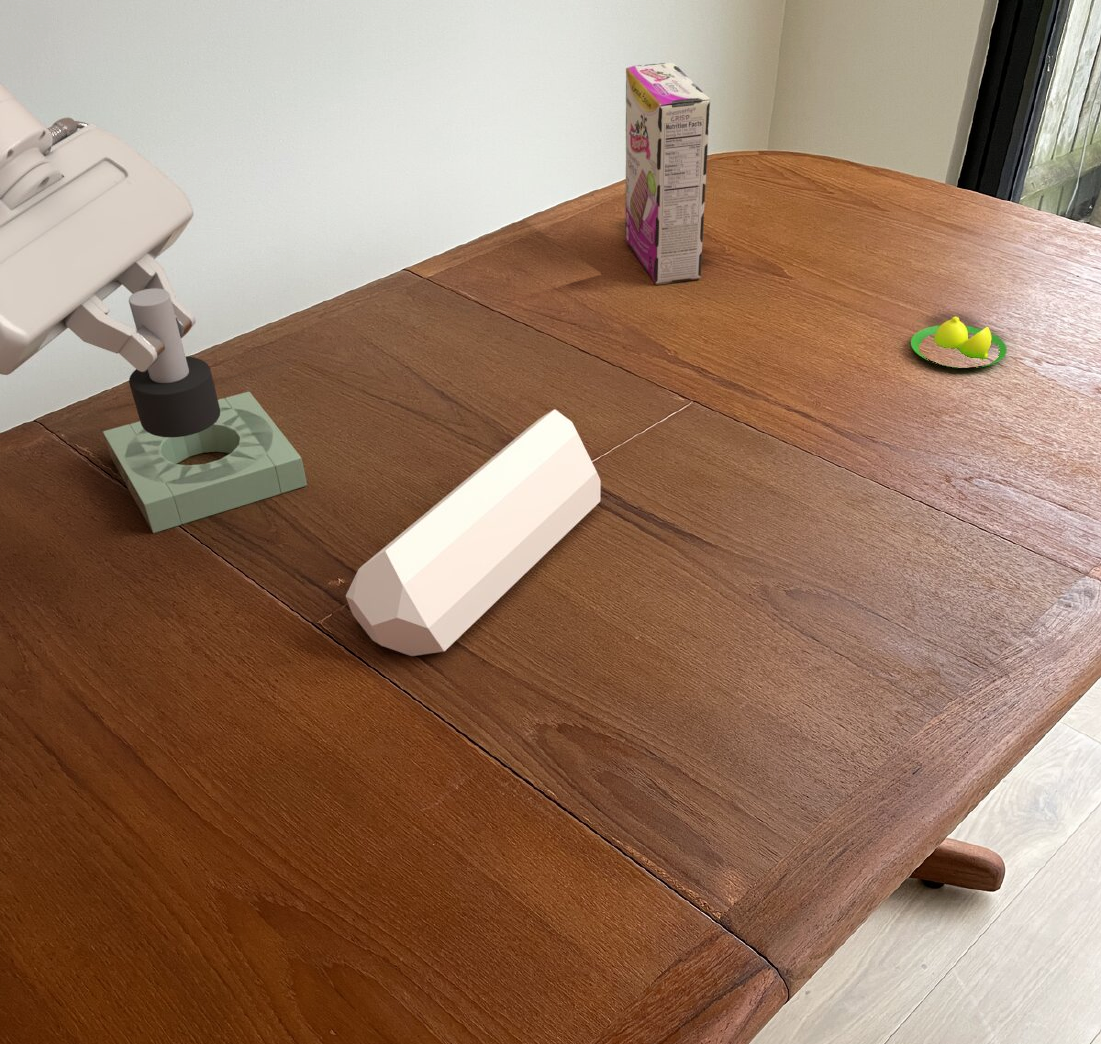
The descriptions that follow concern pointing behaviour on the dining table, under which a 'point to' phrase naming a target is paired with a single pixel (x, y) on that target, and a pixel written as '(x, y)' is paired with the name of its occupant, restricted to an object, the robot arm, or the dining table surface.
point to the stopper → (170, 375)
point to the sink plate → (206, 465)
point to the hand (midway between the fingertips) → (170, 347)
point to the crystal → (476, 541)
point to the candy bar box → (665, 171)
